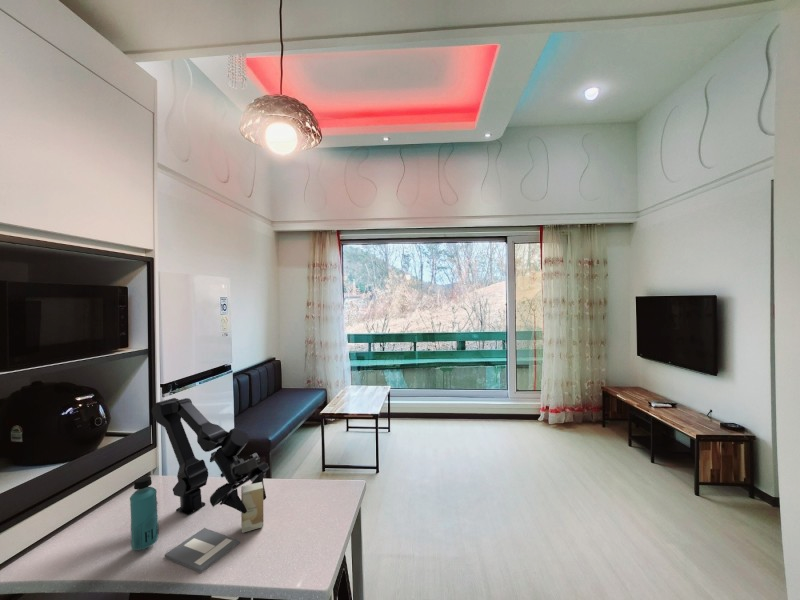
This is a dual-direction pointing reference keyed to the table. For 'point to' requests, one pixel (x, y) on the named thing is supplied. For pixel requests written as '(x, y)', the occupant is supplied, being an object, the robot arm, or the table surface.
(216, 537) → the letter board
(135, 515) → the beverage bottle
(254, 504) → the skincare box
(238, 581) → the table surface
